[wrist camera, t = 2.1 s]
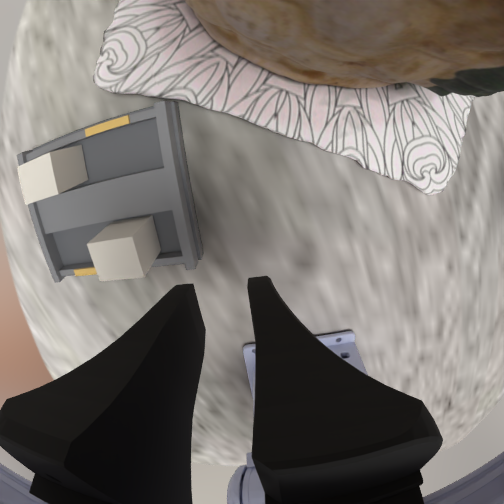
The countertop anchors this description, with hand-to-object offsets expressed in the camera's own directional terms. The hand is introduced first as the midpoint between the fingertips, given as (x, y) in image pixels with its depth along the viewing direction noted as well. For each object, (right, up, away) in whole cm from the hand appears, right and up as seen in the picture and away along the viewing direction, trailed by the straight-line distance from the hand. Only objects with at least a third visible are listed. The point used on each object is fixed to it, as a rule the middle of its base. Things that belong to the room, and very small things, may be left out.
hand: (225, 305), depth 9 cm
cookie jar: (+6, +20, +2) cm, 21 cm away
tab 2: (-7, +3, +8) cm, 11 cm away
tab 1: (-11, +7, +5) cm, 14 cm away
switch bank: (-9, +6, +8) cm, 13 cm away
